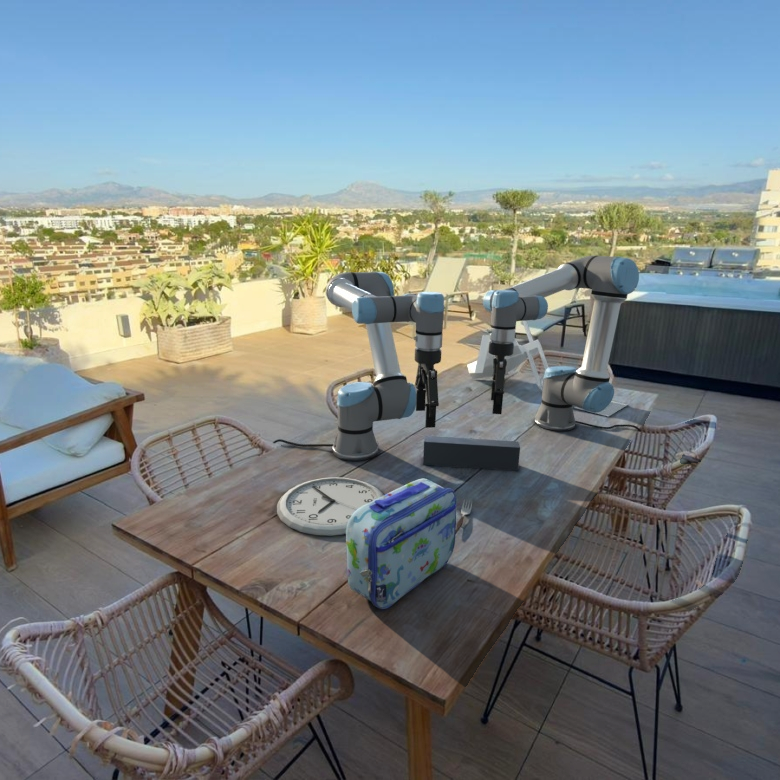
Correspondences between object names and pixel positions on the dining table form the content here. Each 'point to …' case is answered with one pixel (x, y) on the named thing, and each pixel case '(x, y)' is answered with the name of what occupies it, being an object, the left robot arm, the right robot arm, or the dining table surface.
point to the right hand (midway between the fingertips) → (495, 406)
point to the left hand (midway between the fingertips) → (425, 418)
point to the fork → (464, 512)
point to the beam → (471, 453)
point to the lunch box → (400, 540)
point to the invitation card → (609, 408)
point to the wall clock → (324, 504)
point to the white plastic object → (508, 357)
